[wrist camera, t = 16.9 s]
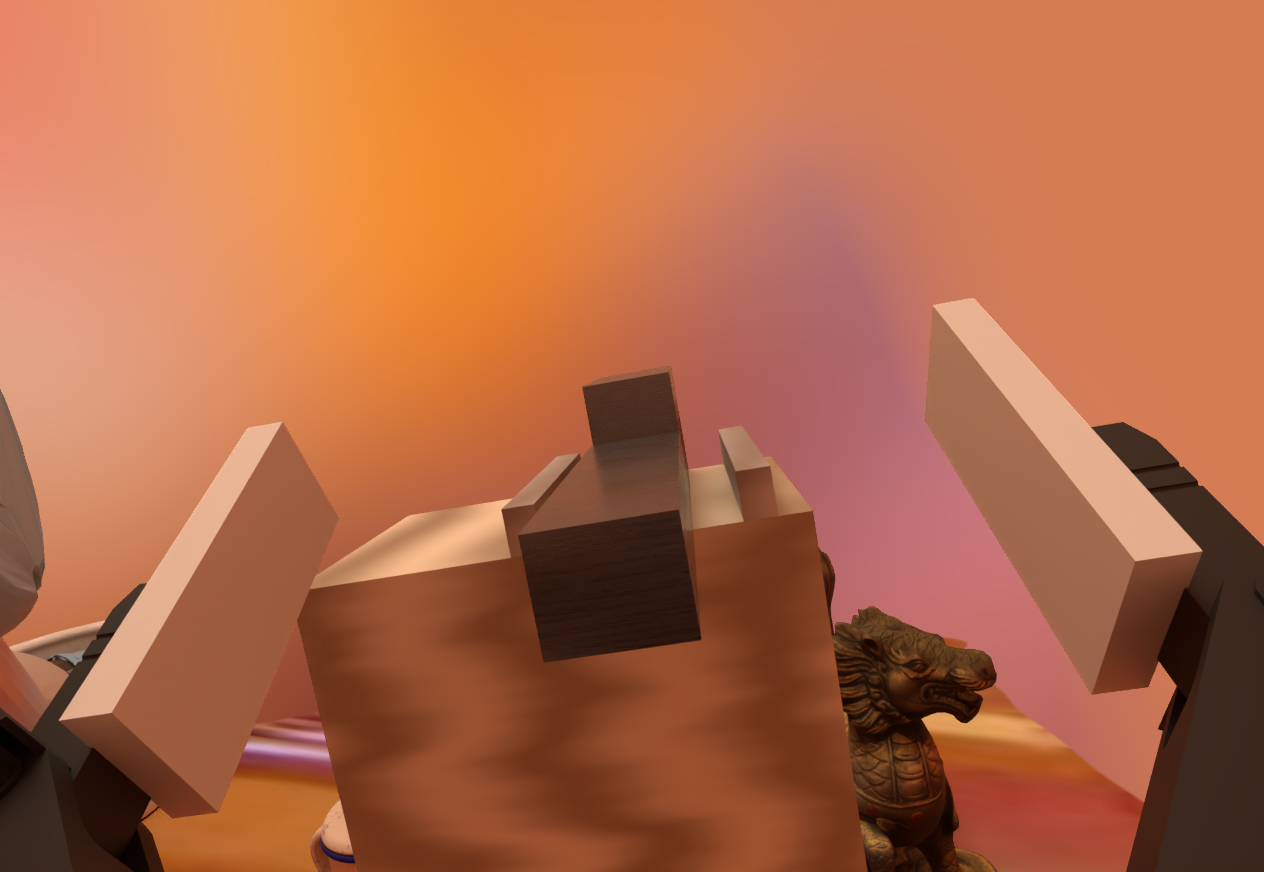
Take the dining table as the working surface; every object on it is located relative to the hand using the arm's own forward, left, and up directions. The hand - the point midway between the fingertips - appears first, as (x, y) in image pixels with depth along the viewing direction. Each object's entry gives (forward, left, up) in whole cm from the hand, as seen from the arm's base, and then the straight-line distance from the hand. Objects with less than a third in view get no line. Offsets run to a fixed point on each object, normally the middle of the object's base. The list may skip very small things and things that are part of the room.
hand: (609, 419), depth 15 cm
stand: (-3, +11, -34) cm, 36 cm away
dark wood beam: (0, +7, -4) cm, 8 cm away
